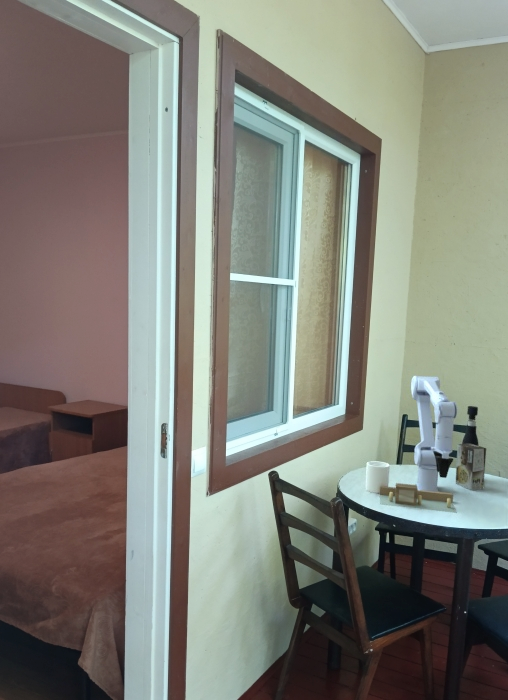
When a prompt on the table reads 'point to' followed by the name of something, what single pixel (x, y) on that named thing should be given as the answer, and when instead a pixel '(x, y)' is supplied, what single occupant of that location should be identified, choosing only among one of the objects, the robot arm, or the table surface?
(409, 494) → the frame
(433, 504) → the board
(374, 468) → the mug
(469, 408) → the wine bottle
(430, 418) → the robot arm
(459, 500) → the table surface
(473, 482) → the coffee box
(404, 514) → the table surface
